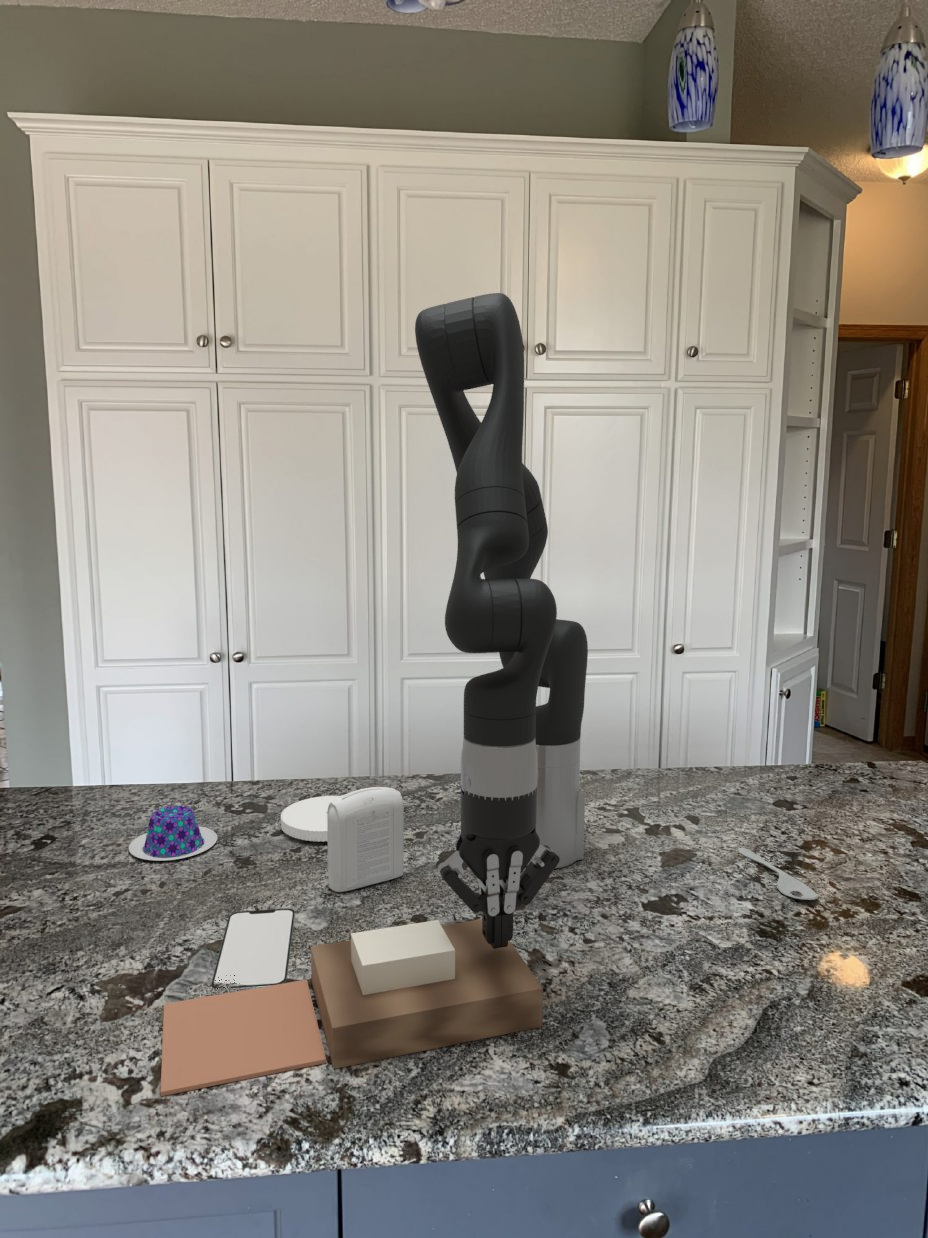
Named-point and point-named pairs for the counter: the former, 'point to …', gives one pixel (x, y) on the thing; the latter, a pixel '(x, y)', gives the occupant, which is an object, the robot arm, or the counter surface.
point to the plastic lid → (307, 818)
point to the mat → (238, 1036)
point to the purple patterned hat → (172, 835)
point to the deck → (425, 1001)
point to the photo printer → (365, 838)
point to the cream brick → (402, 957)
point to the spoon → (783, 878)
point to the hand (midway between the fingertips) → (497, 944)
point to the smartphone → (255, 948)
